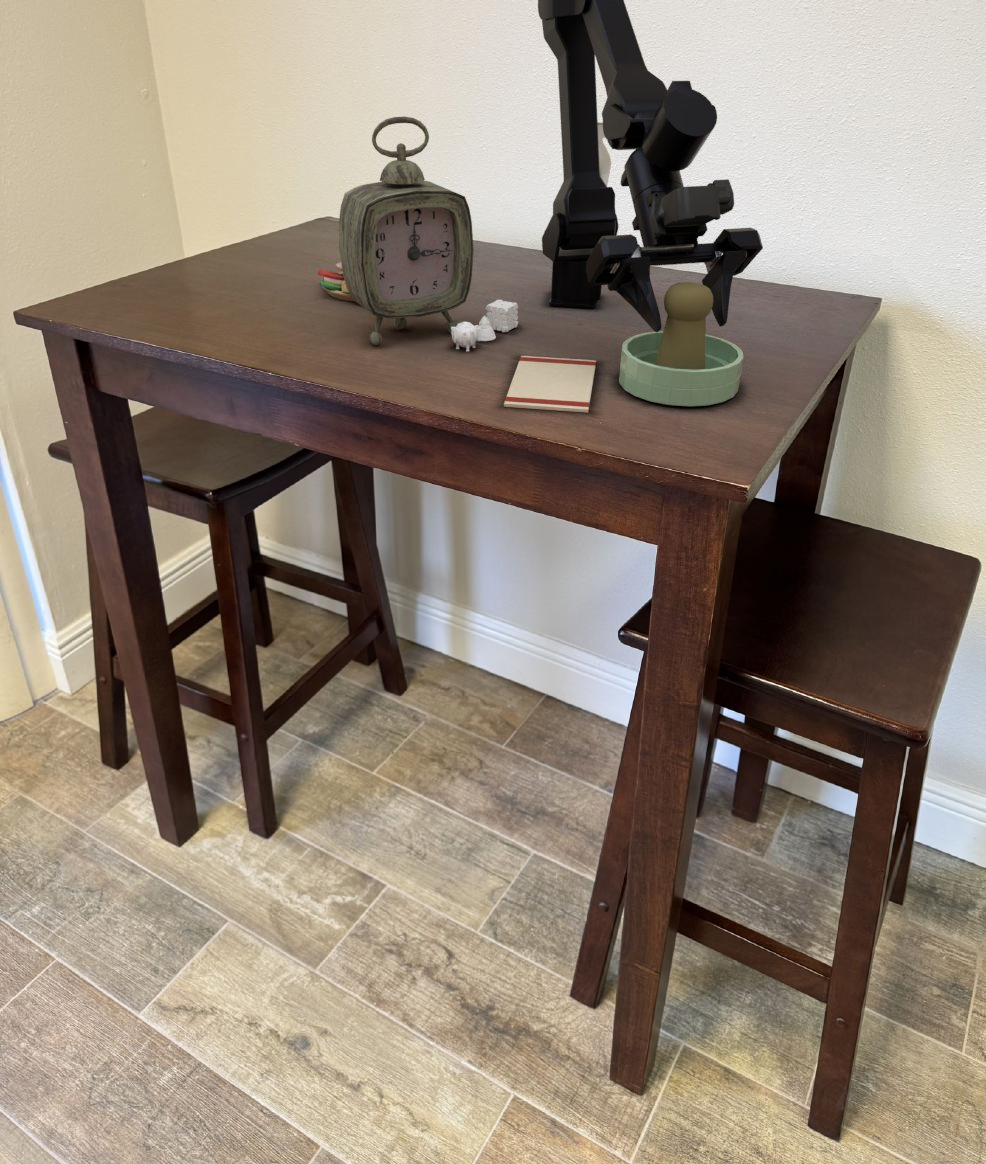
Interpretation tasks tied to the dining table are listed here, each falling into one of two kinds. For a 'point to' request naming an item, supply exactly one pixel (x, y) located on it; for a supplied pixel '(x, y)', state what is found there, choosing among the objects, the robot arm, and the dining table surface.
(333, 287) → the toy food set
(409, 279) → the tabletop clock
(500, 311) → the game pieces
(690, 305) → the cork
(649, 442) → the dining table surface
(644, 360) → the bowl
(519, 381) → the towel
